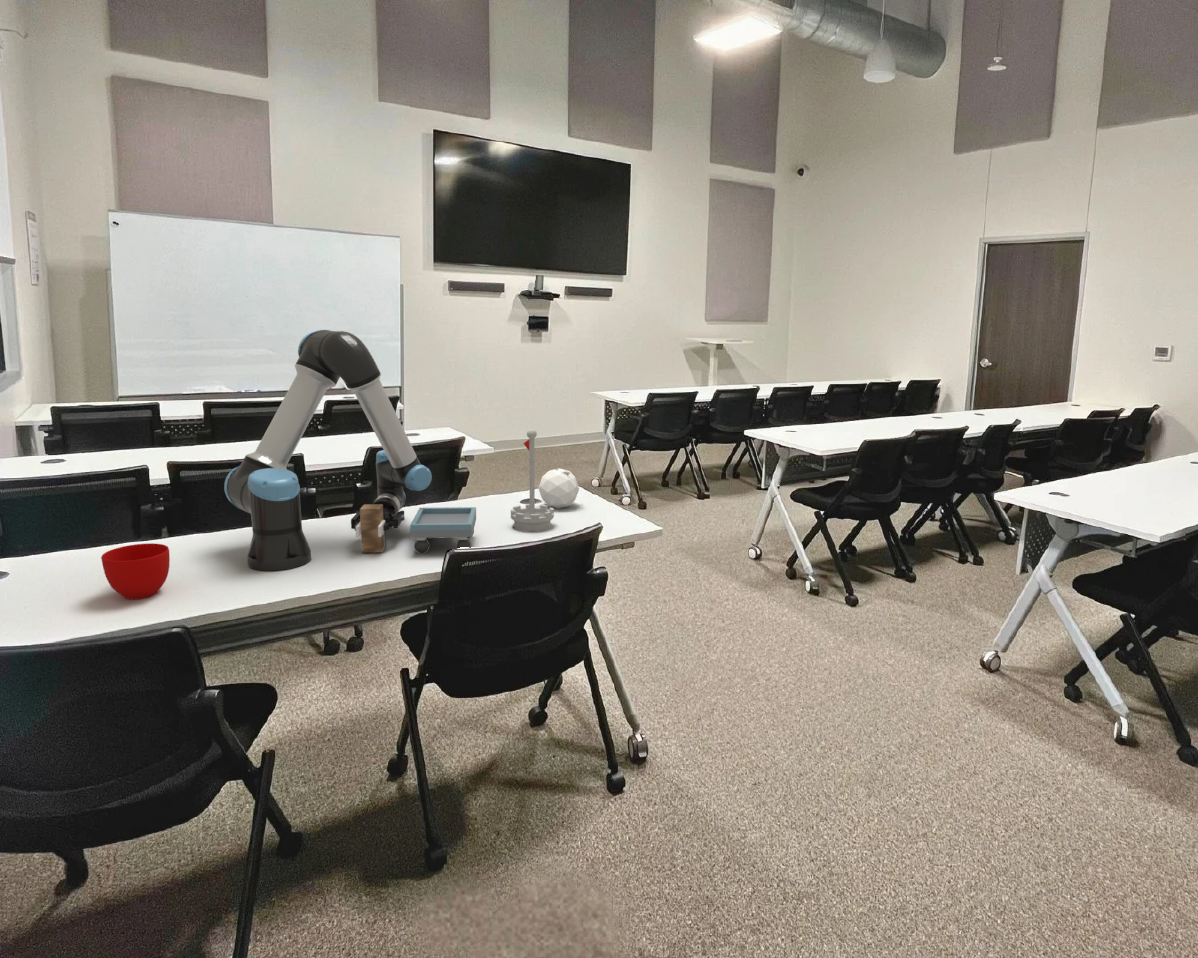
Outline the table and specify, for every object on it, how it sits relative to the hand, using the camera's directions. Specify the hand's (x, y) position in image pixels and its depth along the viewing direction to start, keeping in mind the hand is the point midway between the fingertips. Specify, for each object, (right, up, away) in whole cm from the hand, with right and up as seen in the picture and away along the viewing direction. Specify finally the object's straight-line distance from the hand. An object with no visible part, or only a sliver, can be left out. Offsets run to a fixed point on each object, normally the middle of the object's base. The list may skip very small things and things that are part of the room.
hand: (368, 531), depth 196 cm
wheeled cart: (+18, -5, +12) cm, 22 cm away
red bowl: (-45, -12, -25) cm, 53 cm away
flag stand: (+40, -1, +32) cm, 51 cm away
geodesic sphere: (+47, +4, +55) cm, 73 cm away
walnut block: (-1, -5, +7) cm, 8 cm away
